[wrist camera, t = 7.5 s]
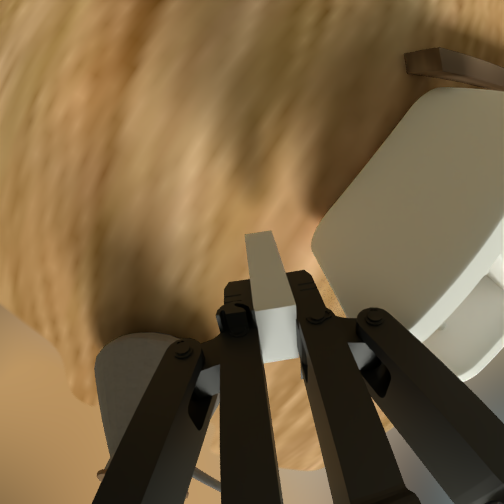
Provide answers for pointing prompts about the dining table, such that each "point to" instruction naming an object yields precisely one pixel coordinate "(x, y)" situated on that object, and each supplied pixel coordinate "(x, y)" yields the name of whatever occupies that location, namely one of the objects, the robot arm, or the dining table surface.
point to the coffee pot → (131, 386)
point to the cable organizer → (428, 228)
